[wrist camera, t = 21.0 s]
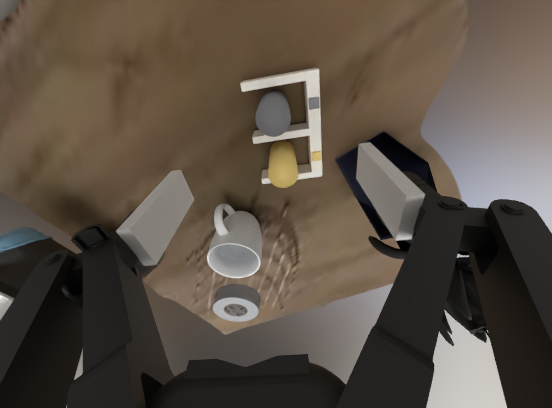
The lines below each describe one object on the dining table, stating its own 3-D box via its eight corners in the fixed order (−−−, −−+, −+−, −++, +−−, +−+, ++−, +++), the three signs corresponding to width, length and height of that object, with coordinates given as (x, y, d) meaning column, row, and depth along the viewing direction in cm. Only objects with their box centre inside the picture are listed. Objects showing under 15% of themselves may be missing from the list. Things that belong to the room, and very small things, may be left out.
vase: (322, 151, 42) (414, 349, 14) (378, 117, 39) (665, 294, 10) (351, 199, 49) (452, 398, 21) (401, 174, 45) (611, 376, 17)
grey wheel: (207, 292, 73) (202, 307, 69) (240, 278, 68) (238, 292, 63) (235, 311, 80) (233, 325, 76) (268, 299, 75) (267, 314, 71)
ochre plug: (272, 164, 44) (270, 189, 36) (267, 141, 41) (265, 162, 33) (295, 161, 44) (299, 185, 36) (293, 137, 41) (296, 158, 33)
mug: (203, 198, 49) (183, 238, 39) (245, 184, 47) (236, 222, 36) (233, 240, 57) (223, 282, 47) (270, 230, 55) (269, 272, 44)
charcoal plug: (263, 121, 39) (259, 139, 31) (257, 92, 36) (251, 102, 28) (289, 117, 39) (292, 133, 30) (286, 86, 36) (288, 96, 28)
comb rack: (263, 174, 46) (262, 185, 42) (243, 80, 35) (239, 83, 32) (319, 167, 44) (322, 177, 41) (315, 67, 34) (319, 69, 30)
